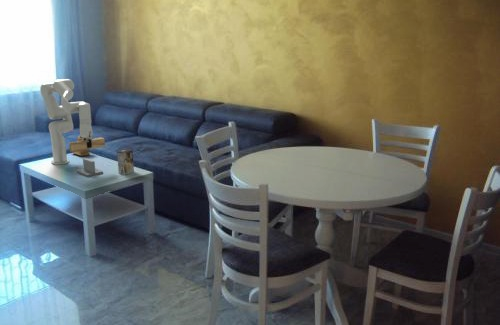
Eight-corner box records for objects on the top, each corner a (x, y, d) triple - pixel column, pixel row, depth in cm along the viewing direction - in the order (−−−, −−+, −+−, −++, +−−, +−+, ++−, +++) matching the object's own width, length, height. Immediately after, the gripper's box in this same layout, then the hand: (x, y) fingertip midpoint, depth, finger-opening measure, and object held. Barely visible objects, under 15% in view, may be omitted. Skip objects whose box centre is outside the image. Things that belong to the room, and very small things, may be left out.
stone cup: (94, 154, 382) (92, 136, 378) (80, 157, 374) (78, 139, 370) (84, 151, 392) (83, 133, 388) (70, 153, 384) (69, 135, 379)
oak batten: (69, 151, 324) (69, 142, 323) (101, 145, 341) (101, 137, 339) (72, 152, 321) (72, 143, 320) (105, 146, 338) (104, 138, 336)
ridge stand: (76, 172, 337) (75, 159, 335) (91, 168, 346) (90, 156, 343) (87, 177, 327) (86, 163, 324) (103, 173, 335) (102, 160, 332)
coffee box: (127, 170, 343) (126, 148, 339) (134, 171, 340) (133, 150, 336) (118, 173, 336) (116, 151, 331) (124, 175, 333) (123, 152, 328)
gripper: (74, 120, 329) (76, 145, 334) (86, 123, 318) (88, 150, 323) (84, 118, 334) (86, 144, 339) (96, 122, 323) (98, 148, 328)
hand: (87, 146), depth 331 cm, fingers closed on oak batten, 4 cm apart
